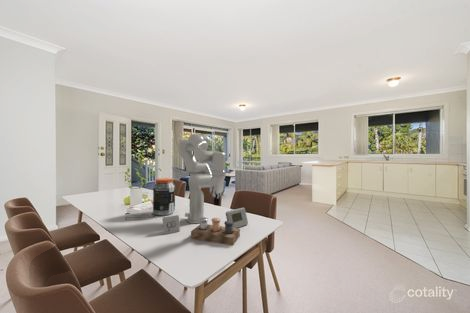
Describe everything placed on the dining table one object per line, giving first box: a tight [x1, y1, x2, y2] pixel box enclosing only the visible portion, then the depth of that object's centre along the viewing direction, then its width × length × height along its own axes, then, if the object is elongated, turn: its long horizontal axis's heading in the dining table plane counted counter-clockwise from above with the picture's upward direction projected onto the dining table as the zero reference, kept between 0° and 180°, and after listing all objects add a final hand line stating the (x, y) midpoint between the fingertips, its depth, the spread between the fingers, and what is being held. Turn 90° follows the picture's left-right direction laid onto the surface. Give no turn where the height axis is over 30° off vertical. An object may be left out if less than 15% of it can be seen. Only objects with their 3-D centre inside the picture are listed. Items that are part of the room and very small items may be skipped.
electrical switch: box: [162, 214, 181, 235], centre depth 114 cm, size 9×5×9 cm, turn 122°
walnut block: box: [190, 223, 241, 247], centre depth 107 cm, size 24×12×4 cm, turn 72°
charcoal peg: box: [224, 220, 233, 234], centre depth 104 cm, size 5×5×9 cm
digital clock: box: [225, 207, 249, 229], centre depth 123 cm, size 16×9×11 cm, turn 120°
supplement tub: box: [152, 177, 176, 216], centre depth 148 cm, size 16×16×26 cm
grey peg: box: [199, 217, 209, 230], centre depth 109 cm, size 5×5×9 cm
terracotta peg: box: [211, 217, 221, 232], centre depth 107 cm, size 5×5×9 cm
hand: (216, 204), depth 112 cm, fingers closed
